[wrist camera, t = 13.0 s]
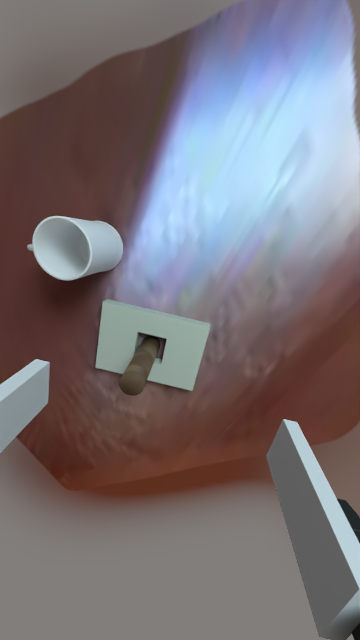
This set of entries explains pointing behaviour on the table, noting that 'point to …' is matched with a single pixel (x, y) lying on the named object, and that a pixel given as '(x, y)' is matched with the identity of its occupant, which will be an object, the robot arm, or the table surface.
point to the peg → (140, 367)
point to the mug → (75, 247)
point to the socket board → (180, 332)
